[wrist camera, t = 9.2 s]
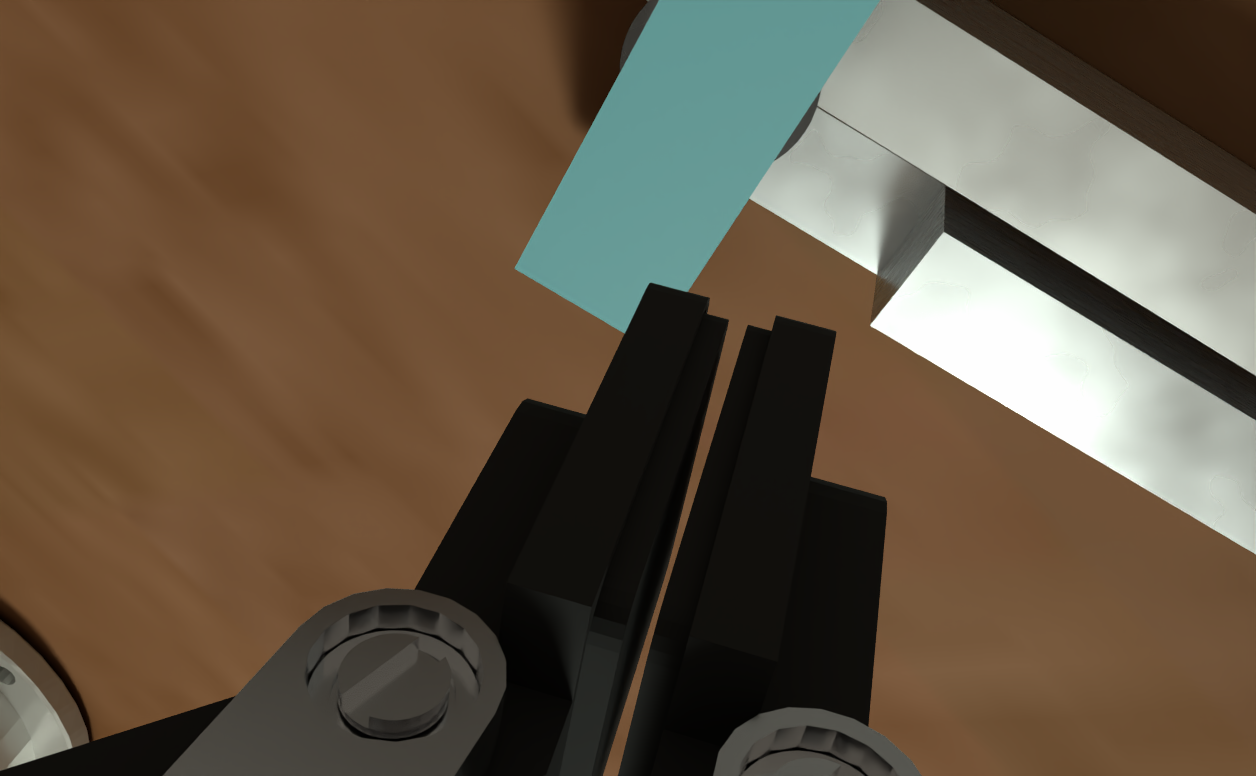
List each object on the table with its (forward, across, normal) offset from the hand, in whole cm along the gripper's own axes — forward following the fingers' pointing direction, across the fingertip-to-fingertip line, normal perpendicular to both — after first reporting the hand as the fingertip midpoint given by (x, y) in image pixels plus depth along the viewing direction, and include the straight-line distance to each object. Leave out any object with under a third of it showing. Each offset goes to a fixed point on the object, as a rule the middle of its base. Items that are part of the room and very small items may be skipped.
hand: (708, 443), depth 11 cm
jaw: (+15, -8, +6) cm, 18 cm away
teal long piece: (+15, +2, +1) cm, 15 cm away
